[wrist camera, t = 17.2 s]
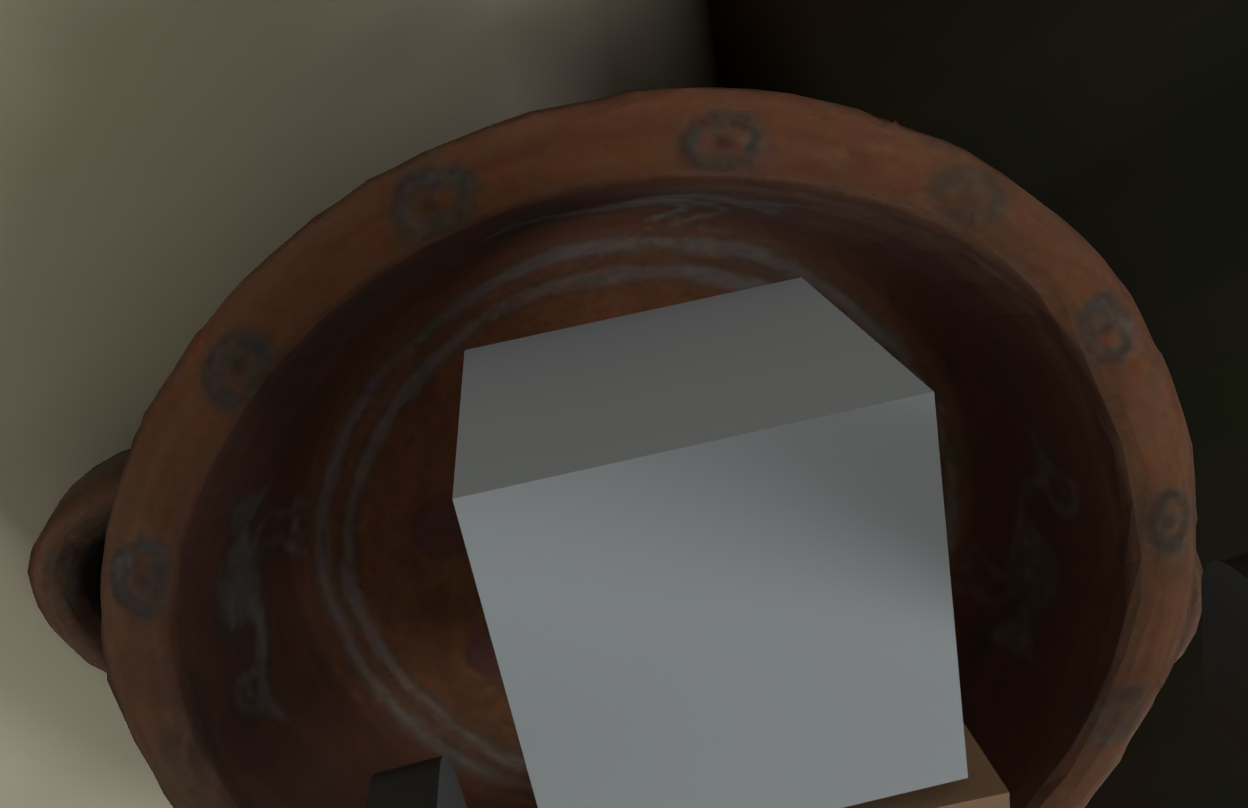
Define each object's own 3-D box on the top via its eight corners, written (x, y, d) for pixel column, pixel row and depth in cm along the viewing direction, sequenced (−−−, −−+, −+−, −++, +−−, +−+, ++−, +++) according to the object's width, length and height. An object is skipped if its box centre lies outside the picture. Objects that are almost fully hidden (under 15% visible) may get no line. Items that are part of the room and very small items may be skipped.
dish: (31, 22, 18) (-135, 27, 13) (1246, 111, 21) (1464, 140, 16) (121, 857, 24) (29, 1065, 19) (1055, 835, 26) (1175, 1010, 22)
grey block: (840, 571, 17) (967, 777, 13) (538, 639, 17) (556, 875, 12) (801, 277, 16) (935, 392, 11) (464, 350, 15) (453, 498, 11)
